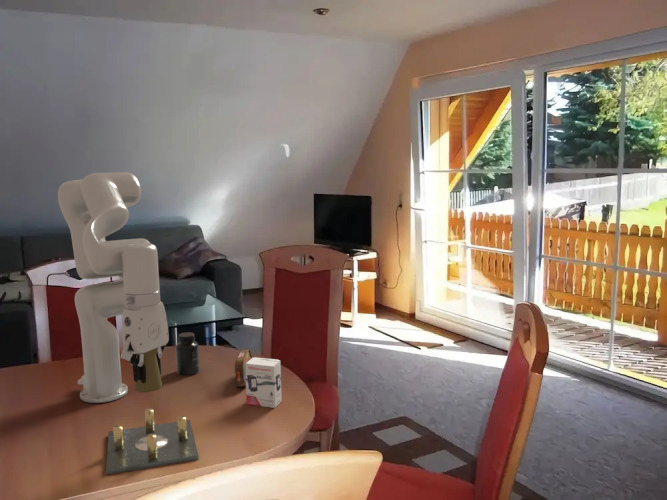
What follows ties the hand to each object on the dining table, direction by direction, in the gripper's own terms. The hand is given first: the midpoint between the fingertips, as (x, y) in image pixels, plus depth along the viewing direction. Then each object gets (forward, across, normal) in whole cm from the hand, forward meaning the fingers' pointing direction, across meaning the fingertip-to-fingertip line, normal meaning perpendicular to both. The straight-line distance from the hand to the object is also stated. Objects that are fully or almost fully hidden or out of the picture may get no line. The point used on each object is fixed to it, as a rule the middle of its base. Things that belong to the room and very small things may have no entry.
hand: (147, 377), depth 136 cm
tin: (+17, +43, +4) cm, 46 cm away
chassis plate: (+17, 0, 0) cm, 17 cm away
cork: (+2, 0, 0) cm, 2 cm away
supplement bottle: (+17, +42, +24) cm, 51 cm away
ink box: (+17, +32, -10) cm, 38 cm away
